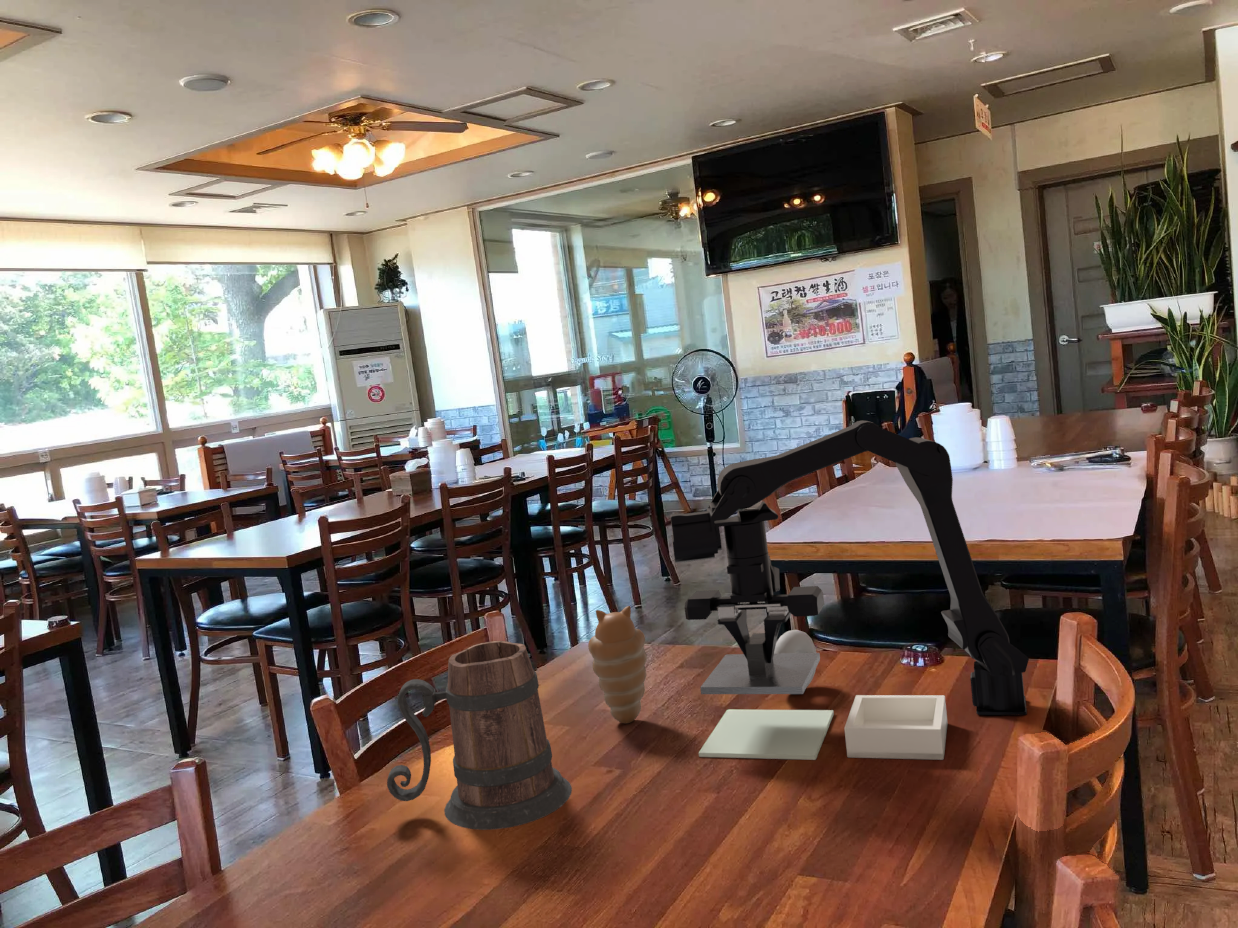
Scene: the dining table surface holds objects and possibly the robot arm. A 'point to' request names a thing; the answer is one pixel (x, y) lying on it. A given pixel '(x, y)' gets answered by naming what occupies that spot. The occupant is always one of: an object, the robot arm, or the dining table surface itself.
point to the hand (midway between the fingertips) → (760, 662)
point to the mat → (768, 734)
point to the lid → (761, 671)
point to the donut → (795, 644)
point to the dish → (897, 727)
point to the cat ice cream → (619, 663)
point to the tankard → (489, 740)
